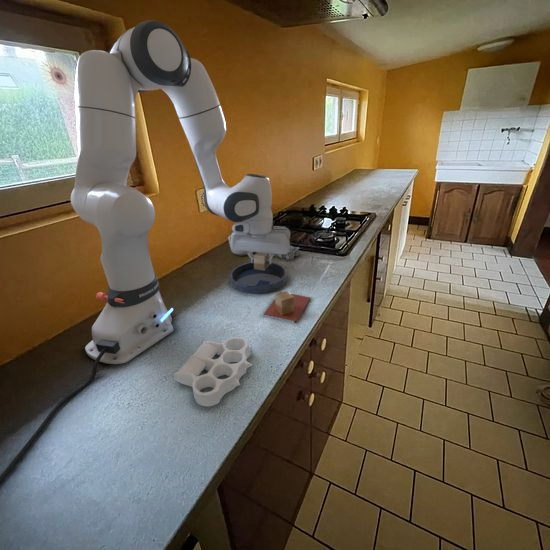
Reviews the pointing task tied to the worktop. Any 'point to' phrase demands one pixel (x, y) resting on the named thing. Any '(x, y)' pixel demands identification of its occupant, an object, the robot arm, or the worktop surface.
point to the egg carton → (289, 253)
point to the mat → (299, 307)
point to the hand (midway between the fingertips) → (261, 263)
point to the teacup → (240, 253)
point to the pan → (257, 278)
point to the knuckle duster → (215, 369)
